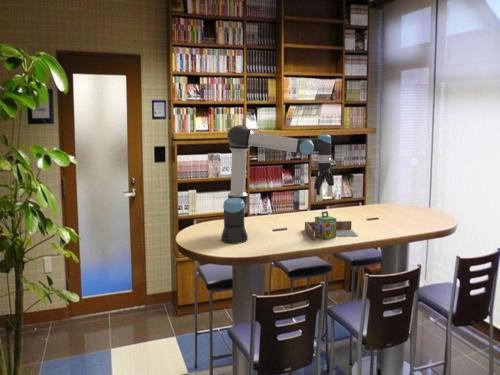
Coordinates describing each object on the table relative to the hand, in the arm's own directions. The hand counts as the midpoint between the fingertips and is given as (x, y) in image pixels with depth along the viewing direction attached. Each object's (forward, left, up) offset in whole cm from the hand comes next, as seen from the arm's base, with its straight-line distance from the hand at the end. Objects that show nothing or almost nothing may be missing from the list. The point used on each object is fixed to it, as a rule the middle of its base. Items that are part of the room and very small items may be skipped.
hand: (324, 198), depth 267 cm
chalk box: (0, -2, -22) cm, 23 cm away
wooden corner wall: (+5, +3, -22) cm, 23 cm away
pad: (+13, +3, -22) cm, 26 cm away
